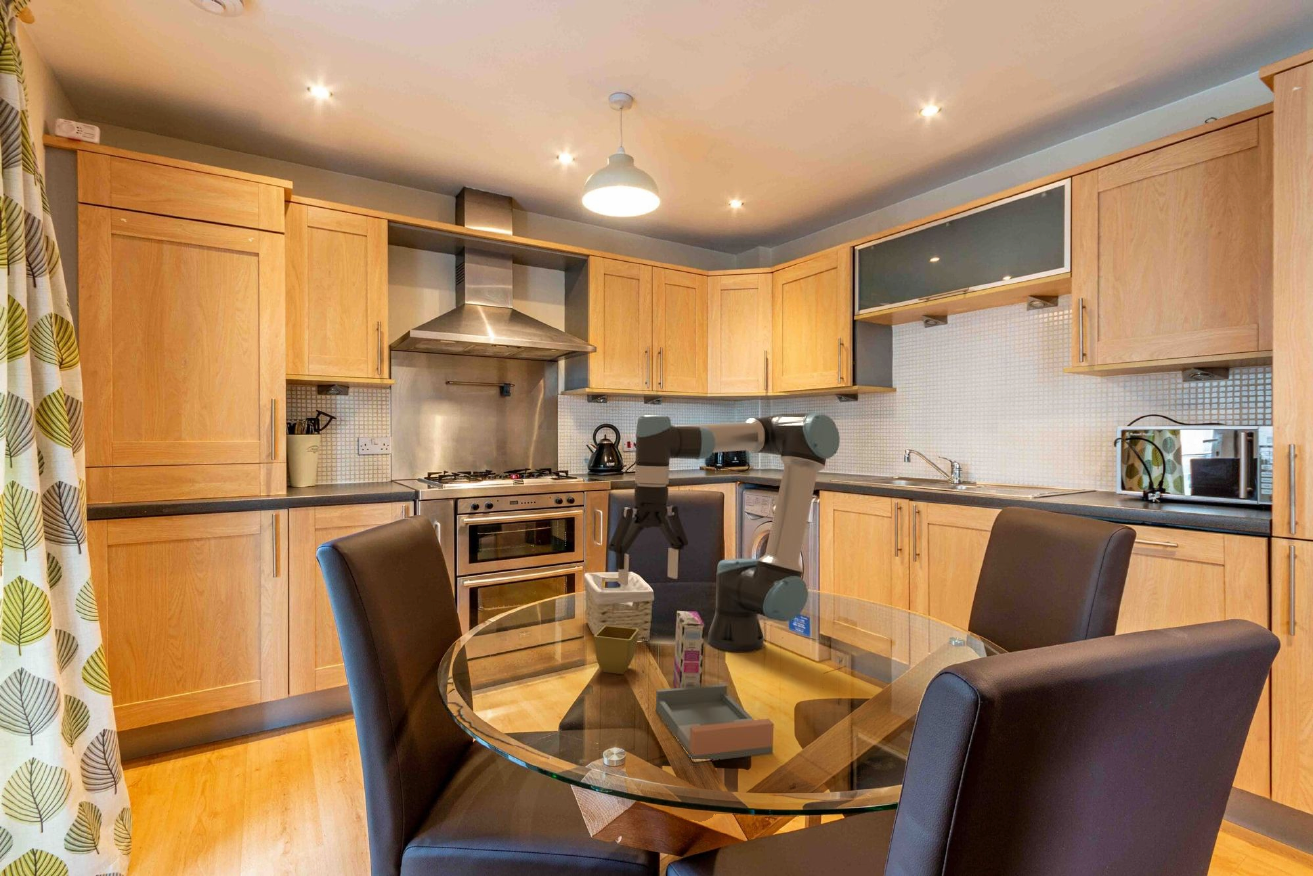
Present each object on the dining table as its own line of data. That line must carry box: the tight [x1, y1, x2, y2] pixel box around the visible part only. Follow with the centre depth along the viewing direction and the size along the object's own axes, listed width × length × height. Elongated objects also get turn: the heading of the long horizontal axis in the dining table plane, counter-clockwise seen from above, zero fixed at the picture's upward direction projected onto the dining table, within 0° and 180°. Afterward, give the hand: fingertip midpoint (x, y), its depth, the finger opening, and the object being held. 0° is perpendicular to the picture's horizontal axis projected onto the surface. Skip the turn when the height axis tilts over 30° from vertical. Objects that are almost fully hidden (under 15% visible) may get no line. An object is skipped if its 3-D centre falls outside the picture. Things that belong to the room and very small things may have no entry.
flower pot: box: [593, 626, 639, 675], centre depth 147 cm, size 9×9×9 cm
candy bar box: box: [672, 610, 705, 688], centre depth 136 cm, size 11×5×16 cm, turn 5°
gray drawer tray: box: [655, 683, 775, 761], centre depth 118 cm, size 15×21×5 cm
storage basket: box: [583, 571, 655, 642], centre depth 177 cm, size 24×16×15 cm
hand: (648, 580), depth 139 cm, fingers open, 13 cm apart
